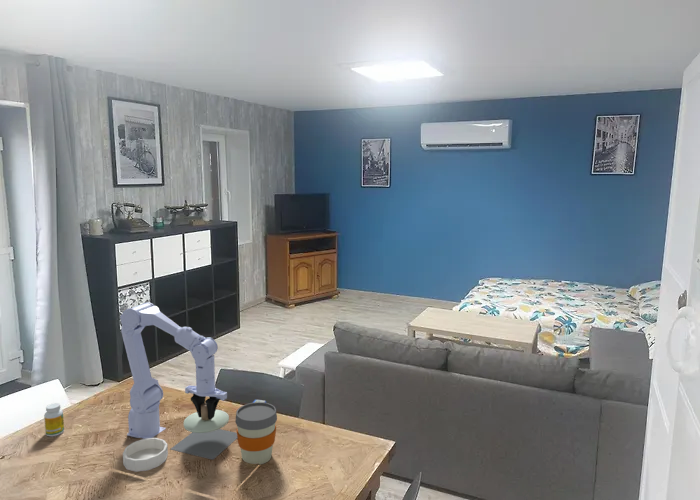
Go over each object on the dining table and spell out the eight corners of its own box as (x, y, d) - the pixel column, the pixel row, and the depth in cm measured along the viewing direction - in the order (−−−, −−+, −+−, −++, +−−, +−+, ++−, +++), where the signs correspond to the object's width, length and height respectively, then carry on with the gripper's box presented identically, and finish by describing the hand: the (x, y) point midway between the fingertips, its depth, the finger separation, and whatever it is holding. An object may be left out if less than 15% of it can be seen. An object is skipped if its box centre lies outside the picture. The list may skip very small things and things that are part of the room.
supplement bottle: (44, 432, 158) (42, 405, 157) (62, 427, 162) (61, 400, 160) (46, 438, 154) (44, 411, 153) (65, 433, 157) (63, 406, 156)
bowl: (114, 467, 139) (114, 455, 139) (144, 446, 150) (144, 435, 150) (147, 476, 135) (146, 463, 135) (175, 454, 146) (175, 442, 146)
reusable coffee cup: (284, 450, 150) (284, 405, 148) (264, 472, 138) (264, 424, 136) (249, 442, 154) (249, 399, 152) (227, 463, 142) (226, 416, 140)
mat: (170, 450, 148) (170, 449, 148) (201, 426, 163) (201, 425, 163) (213, 461, 143) (213, 459, 143) (241, 435, 158) (241, 433, 158)
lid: (174, 428, 148) (173, 410, 147) (201, 408, 161) (201, 392, 160) (211, 436, 143) (211, 418, 143) (237, 415, 156) (236, 399, 156)
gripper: (232, 375, 151) (232, 415, 153) (194, 369, 156) (195, 407, 158) (219, 384, 145) (219, 425, 147) (180, 377, 150) (181, 417, 151)
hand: (206, 417), depth 152 cm, fingers closed on lid, 3 cm apart
